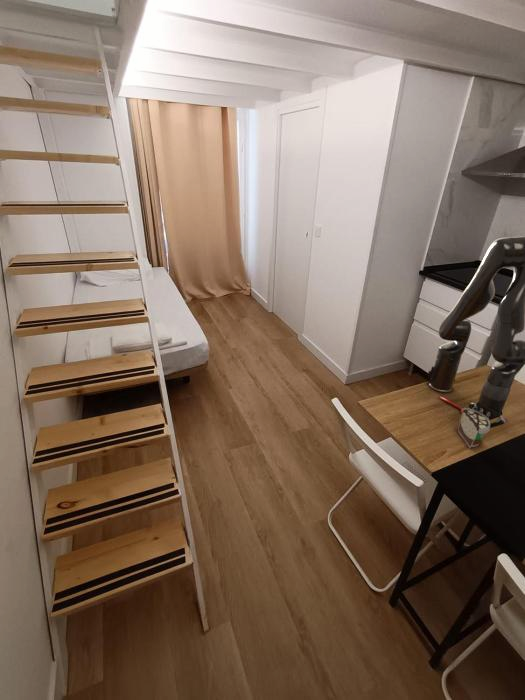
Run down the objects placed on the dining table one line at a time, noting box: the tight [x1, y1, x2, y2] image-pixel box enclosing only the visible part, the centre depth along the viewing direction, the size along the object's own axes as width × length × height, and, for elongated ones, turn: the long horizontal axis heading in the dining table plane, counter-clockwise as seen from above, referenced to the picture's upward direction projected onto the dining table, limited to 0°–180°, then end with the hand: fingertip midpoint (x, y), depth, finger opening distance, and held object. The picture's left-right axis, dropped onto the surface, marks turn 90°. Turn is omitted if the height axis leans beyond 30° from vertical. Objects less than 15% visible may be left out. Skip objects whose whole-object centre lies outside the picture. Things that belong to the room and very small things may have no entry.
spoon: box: [439, 396, 464, 414], centre depth 139 cm, size 14×4×1 cm, turn 29°
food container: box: [457, 407, 491, 449], centre depth 119 cm, size 12×6×10 cm, turn 177°
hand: (479, 431), depth 123 cm, fingers closed
